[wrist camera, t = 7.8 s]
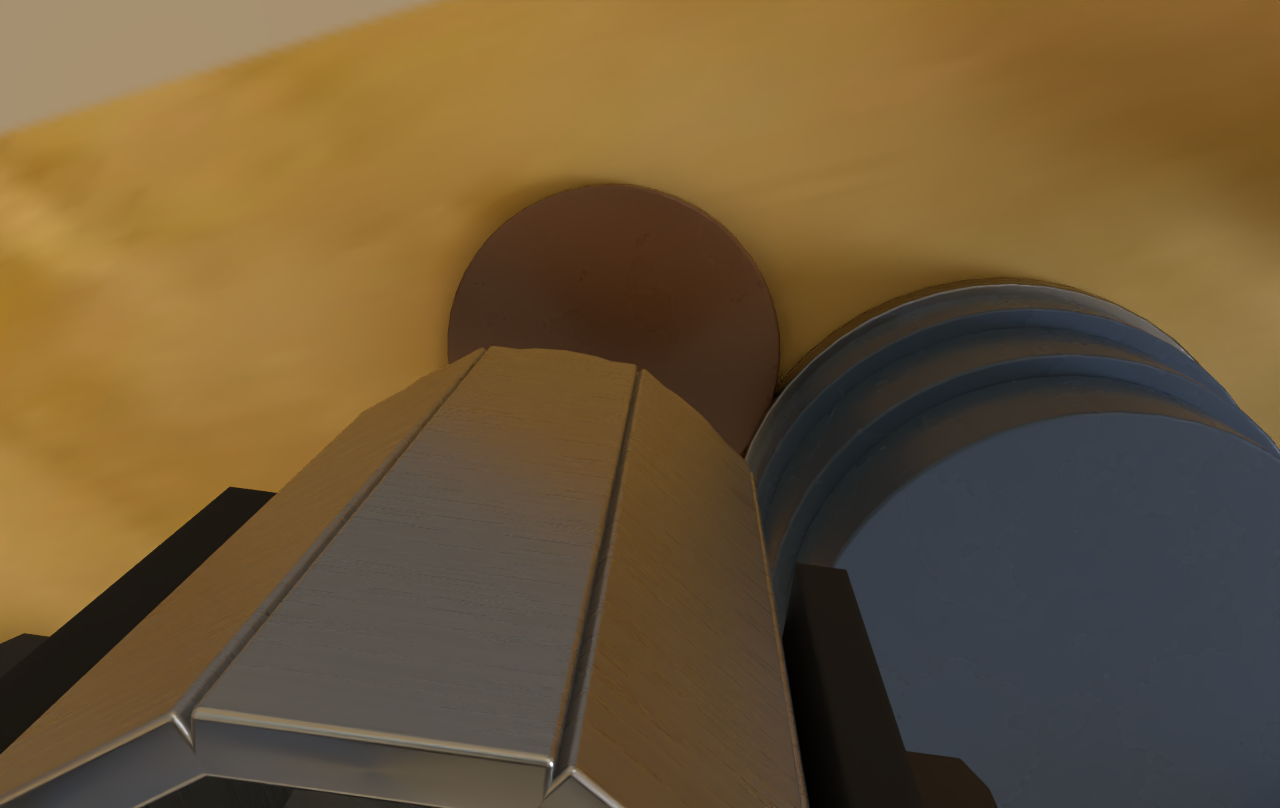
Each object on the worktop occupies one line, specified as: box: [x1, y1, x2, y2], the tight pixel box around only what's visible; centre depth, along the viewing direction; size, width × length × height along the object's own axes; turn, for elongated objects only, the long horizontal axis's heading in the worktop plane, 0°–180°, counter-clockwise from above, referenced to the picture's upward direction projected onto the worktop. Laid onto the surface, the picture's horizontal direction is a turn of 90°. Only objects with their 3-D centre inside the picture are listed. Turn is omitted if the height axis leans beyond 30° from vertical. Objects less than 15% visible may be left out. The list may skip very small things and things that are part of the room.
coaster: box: [448, 184, 780, 455], centre depth 30 cm, size 10×10×1 cm
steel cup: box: [0, 346, 810, 808], centre depth 12 cm, size 7×8×10 cm
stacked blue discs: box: [740, 278, 1280, 808], centre depth 27 cm, size 16×16×9 cm
